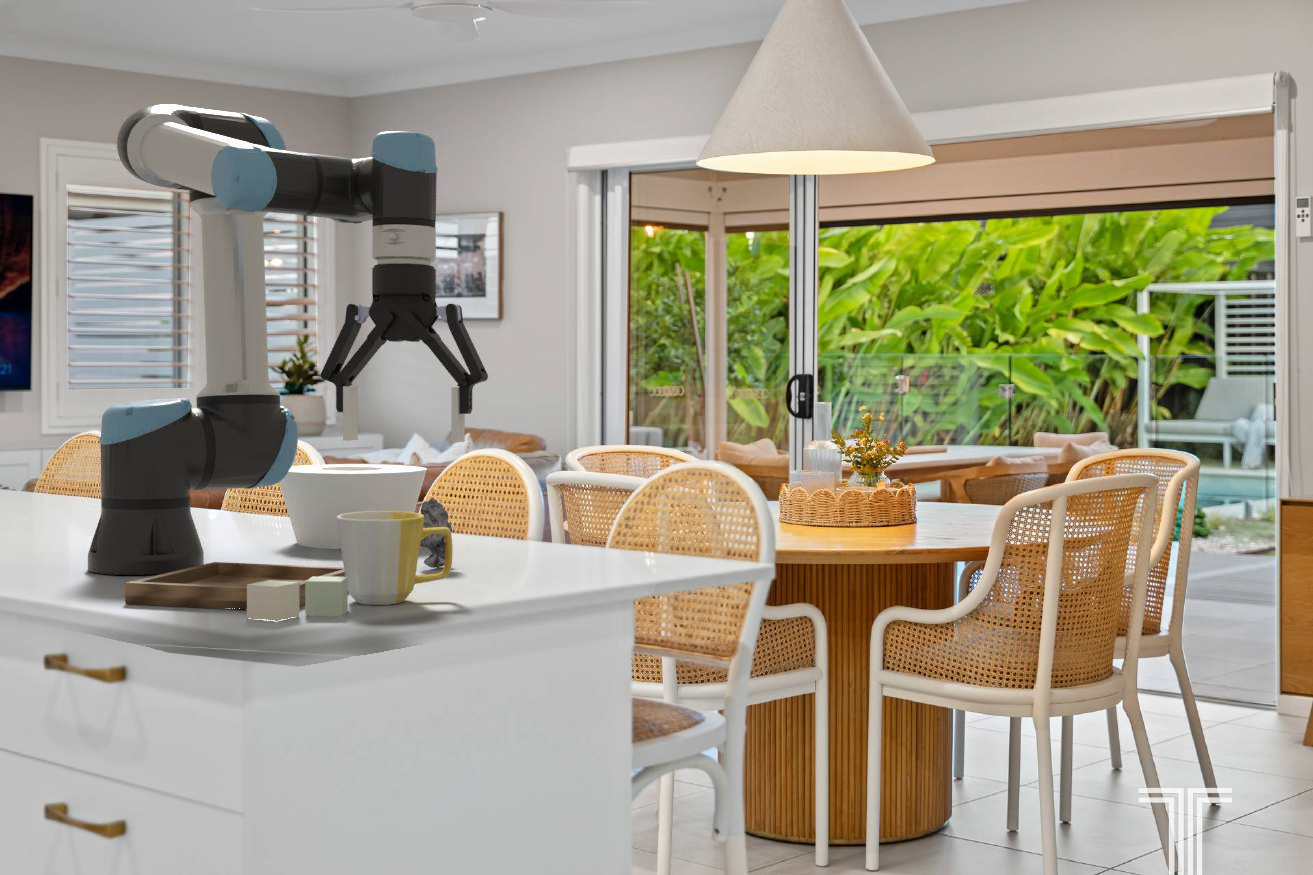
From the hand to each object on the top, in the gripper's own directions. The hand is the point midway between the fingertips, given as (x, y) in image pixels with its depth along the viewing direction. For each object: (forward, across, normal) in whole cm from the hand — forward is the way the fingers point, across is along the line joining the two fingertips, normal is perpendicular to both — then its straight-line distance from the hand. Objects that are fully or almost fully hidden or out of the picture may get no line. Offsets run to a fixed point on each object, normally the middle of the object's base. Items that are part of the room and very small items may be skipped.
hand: (403, 441), depth 174 cm
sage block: (+19, -5, -11) cm, 23 cm away
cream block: (+19, -9, -16) cm, 27 cm away
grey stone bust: (+19, -6, +29) cm, 35 cm away
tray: (+19, -20, -2) cm, 27 cm away
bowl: (+19, -29, +55) cm, 65 cm away
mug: (+19, -1, -2) cm, 19 cm away
